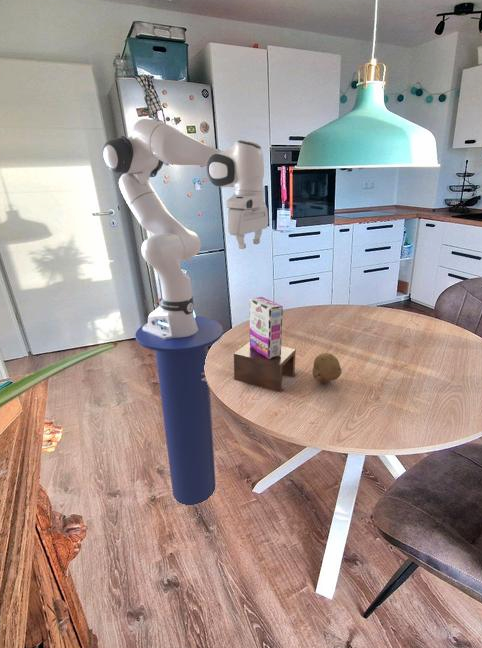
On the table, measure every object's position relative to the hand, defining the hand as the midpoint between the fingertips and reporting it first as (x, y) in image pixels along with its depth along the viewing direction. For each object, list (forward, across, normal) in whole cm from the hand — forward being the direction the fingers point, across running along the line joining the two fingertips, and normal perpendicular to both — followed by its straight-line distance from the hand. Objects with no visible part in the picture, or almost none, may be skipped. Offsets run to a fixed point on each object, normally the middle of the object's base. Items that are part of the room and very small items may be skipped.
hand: (249, 246), depth 124 cm
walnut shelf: (+39, +12, +12) cm, 43 cm away
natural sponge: (+39, +6, +31) cm, 50 cm away
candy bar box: (+30, +12, +12) cm, 34 cm away
